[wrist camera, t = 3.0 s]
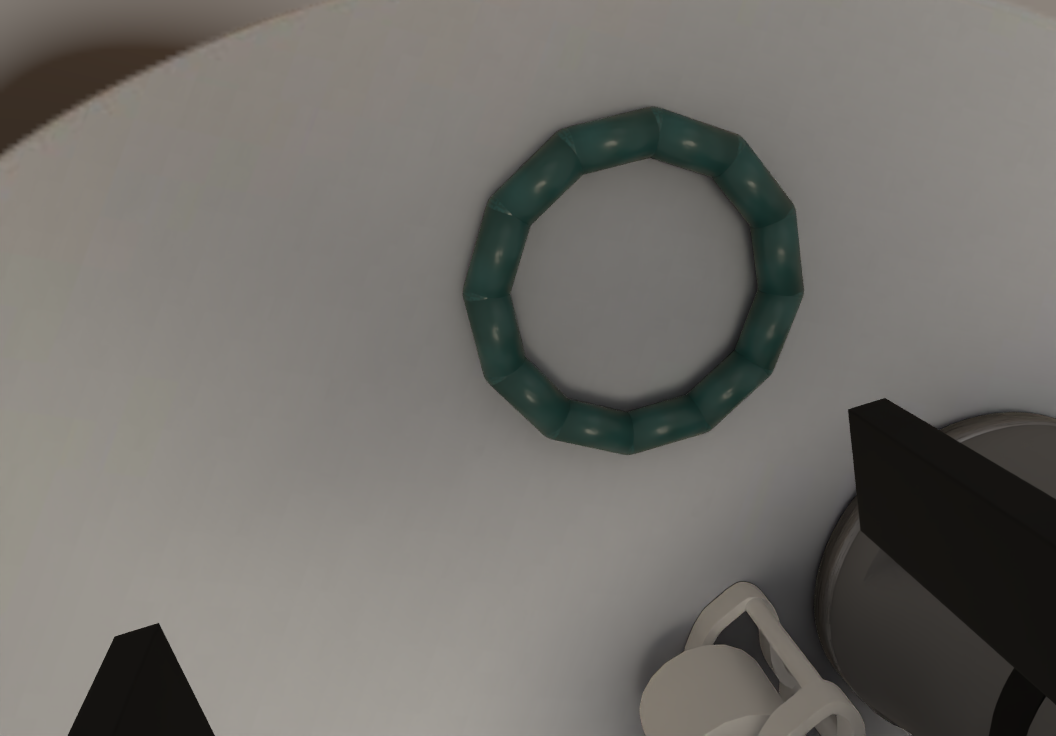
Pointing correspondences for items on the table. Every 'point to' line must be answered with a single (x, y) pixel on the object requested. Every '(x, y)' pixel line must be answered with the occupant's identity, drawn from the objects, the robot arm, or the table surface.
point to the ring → (551, 178)
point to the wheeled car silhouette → (743, 682)
